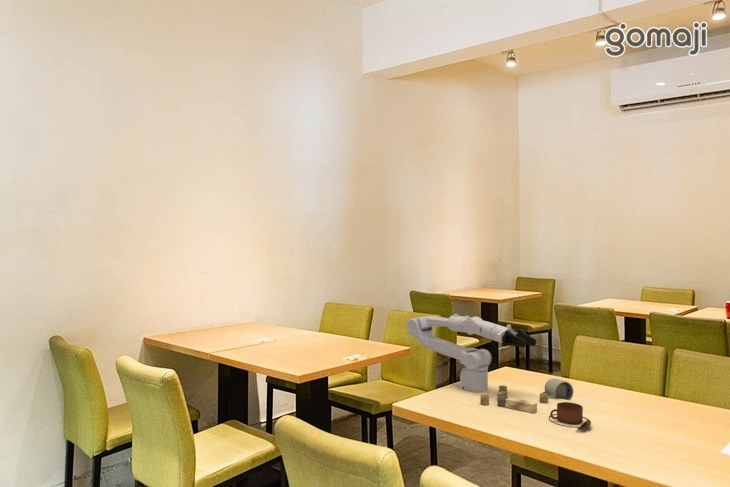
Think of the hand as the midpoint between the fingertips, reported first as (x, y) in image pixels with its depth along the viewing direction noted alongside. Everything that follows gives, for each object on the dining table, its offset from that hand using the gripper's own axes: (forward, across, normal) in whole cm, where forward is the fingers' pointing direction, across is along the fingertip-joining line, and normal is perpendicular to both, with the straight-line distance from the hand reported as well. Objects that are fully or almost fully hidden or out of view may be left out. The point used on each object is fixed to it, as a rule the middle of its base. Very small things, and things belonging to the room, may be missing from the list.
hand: (530, 343), depth 183 cm
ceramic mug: (+7, +14, +20) cm, 25 cm away
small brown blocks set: (0, -3, +22) cm, 22 cm away
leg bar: (+3, -8, +20) cm, 22 cm away
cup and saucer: (+21, -8, +19) cm, 29 cm away
